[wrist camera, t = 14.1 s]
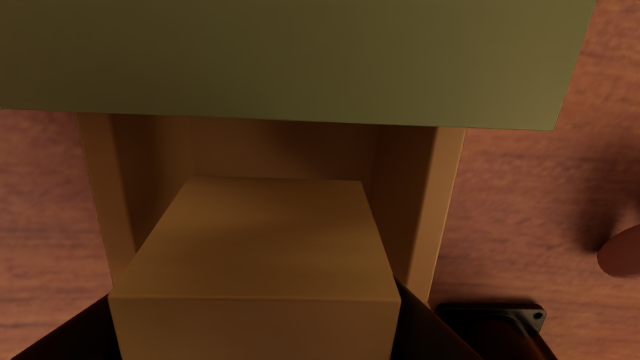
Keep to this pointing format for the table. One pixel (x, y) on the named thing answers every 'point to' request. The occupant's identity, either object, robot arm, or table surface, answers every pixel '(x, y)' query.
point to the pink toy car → (622, 255)
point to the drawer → (273, 174)
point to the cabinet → (296, 59)
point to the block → (259, 276)
